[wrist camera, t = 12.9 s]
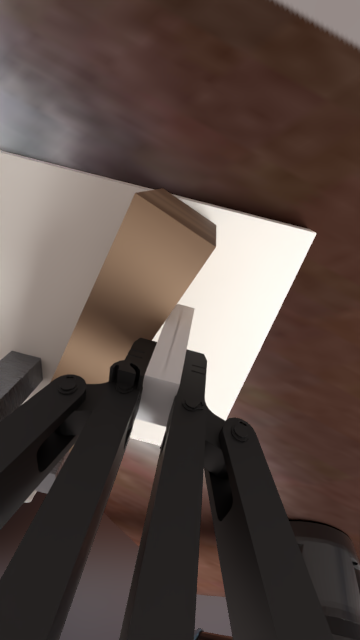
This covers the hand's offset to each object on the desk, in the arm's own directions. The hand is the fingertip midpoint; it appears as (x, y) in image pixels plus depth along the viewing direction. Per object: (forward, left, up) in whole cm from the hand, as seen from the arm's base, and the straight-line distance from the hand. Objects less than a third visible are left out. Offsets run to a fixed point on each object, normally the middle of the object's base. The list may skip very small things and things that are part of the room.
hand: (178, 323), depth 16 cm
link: (-6, +5, -3) cm, 9 cm away
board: (-6, +5, -6) cm, 10 cm away
